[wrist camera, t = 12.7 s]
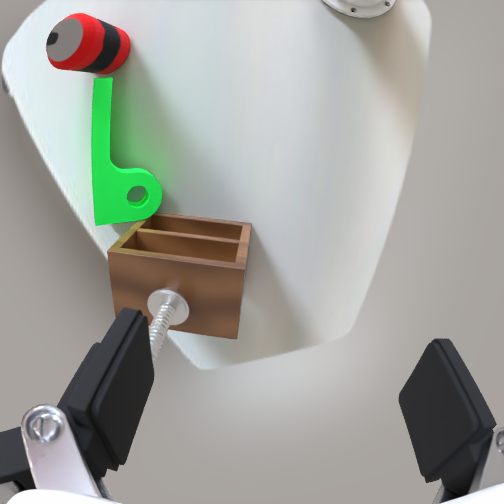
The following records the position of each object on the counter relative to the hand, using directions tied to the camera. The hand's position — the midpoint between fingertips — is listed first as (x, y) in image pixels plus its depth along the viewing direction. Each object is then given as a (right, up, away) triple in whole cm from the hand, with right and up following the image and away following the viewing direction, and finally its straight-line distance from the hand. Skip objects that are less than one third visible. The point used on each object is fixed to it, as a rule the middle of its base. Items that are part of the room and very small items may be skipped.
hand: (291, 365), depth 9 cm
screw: (-10, -2, +26) cm, 28 cm away
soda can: (-22, +33, +26) cm, 48 cm away
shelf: (-10, +4, +39) cm, 40 cm away
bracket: (-19, +19, +32) cm, 42 cm away
